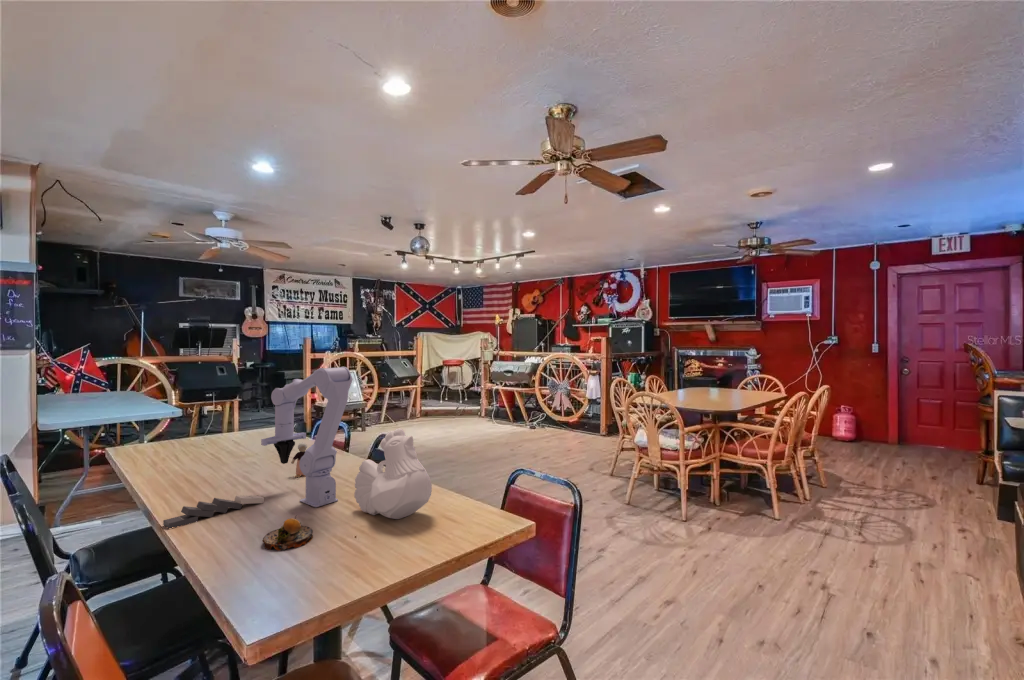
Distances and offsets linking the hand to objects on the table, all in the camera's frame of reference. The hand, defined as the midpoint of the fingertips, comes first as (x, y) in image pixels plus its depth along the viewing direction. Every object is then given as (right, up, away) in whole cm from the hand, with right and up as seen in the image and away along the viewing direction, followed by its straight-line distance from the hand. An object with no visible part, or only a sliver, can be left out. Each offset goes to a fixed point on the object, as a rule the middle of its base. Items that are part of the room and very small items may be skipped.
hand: (284, 463), depth 158 cm
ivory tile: (-3, -9, -9) cm, 13 cm away
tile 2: (-9, -9, -18) cm, 22 cm away
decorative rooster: (+42, -11, -19) cm, 47 cm away
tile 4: (-14, -9, -24) cm, 29 cm away
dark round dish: (+20, -11, -38) cm, 44 cm away
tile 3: (-12, -9, -21) cm, 26 cm away
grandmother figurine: (-2, -10, +19) cm, 22 cm away
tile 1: (-7, -9, -15) cm, 19 cm away
